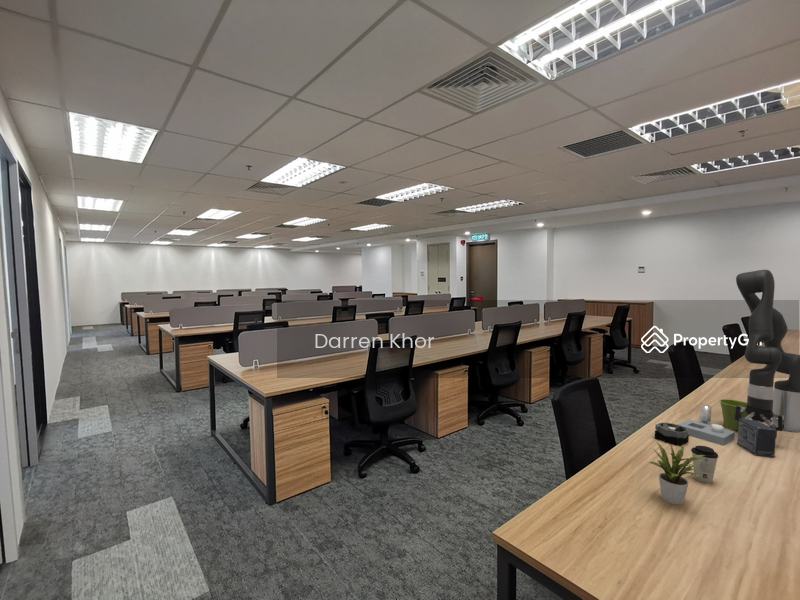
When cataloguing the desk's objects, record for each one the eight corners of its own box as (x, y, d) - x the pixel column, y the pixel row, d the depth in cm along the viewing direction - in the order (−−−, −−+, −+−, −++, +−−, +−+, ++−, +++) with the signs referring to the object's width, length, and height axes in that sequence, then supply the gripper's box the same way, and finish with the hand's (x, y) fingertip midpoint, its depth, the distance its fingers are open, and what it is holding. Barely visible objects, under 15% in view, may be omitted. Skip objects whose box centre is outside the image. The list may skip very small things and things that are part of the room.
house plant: (710, 524, 99) (713, 463, 98) (647, 506, 106) (649, 450, 106) (701, 497, 111) (704, 443, 110) (646, 484, 118) (648, 433, 118)
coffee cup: (710, 486, 117) (712, 455, 117) (685, 476, 123) (686, 446, 123) (721, 481, 121) (723, 450, 120) (696, 471, 127) (697, 442, 126)
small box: (776, 458, 138) (778, 429, 137) (755, 456, 139) (757, 428, 138) (755, 445, 148) (756, 419, 147) (736, 444, 149) (737, 418, 149)
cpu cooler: (692, 428, 150) (681, 433, 145) (691, 442, 151) (681, 448, 145) (663, 420, 159) (652, 425, 153) (662, 433, 159) (651, 438, 154)
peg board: (688, 426, 168) (689, 414, 167) (734, 438, 154) (735, 425, 154) (676, 431, 161) (677, 419, 161) (723, 445, 148) (724, 432, 147)
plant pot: (751, 436, 157) (753, 409, 157) (715, 427, 166) (716, 402, 166) (755, 429, 165) (756, 403, 164) (720, 421, 174) (721, 397, 173)
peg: (701, 426, 167) (702, 404, 167) (711, 428, 164) (712, 406, 164) (698, 427, 165) (699, 405, 165) (708, 430, 162) (709, 408, 162)
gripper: (734, 392, 154) (731, 431, 155) (782, 402, 142) (779, 444, 143) (740, 390, 158) (738, 427, 159) (788, 399, 146) (785, 440, 147)
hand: (757, 435), depth 151 cm, fingers open, 8 cm apart
